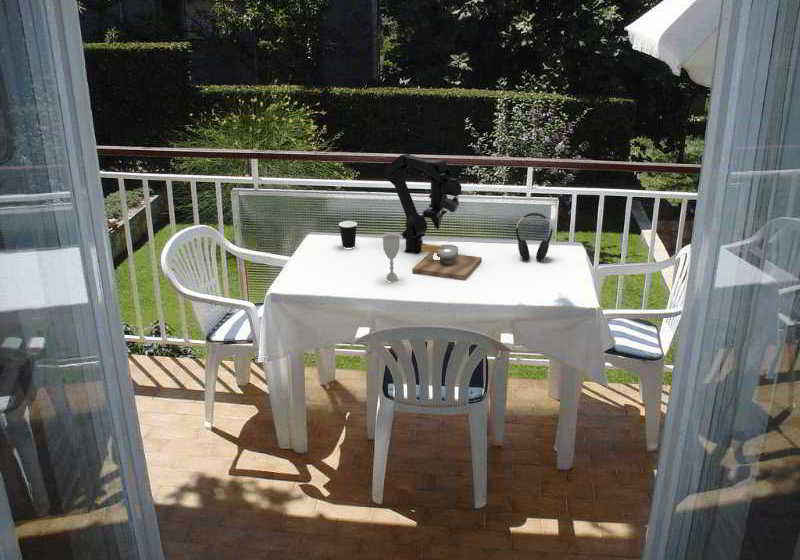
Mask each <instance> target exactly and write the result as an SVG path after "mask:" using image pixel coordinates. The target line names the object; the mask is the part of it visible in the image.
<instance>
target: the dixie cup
mask: <svg viewBox="0 0 800 560" xmlns="http://www.w3.org/2000/svg"><path fill="white" fill-rule="evenodd" d="M357 225H358V223H357V222H356V221H353V220H352V221H351V220H347V221H341V222H339V223H338V226H339V231H340V236H341V237H340V238H341V244H342V247H345V248H353V247H354V248H355V247H356V237H357Z"/></svg>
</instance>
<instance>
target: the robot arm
mask: <svg viewBox="0 0 800 560" xmlns="http://www.w3.org/2000/svg"><path fill="white" fill-rule="evenodd" d="M409 167H411V168H415V169H418V170H422V171H424V172H425V174H427V175H429V176H428V177H426V180H427V181H430V194H428V198H429V199H430V204H428V207H427V208H426V209H424V210H423V212H422V215H420V213H418V211H417V209H416V206H415V203H414V200H413V198H412V196H411V192H410V190H409V188H408V185H407V183H406V180H407V171H406V170H407V169H408V168H409ZM384 174H385V177H386V178H387V180H388V181H389V182H390V183H391V184H392V185H393V186H394V188H395V190H396V194H397V196H398V200H399V202H400V204H401V206H402V210H403V212H404V214H405V217H406V219H405V228H406V229H405V230H403V232H402V233H401V234H402V238H403V239H404V240H405V250H404V253H409V254H420V253H421V252H422V251H421V245H422V244H424V240H423V237H425V235H426V233H427V230H428V226H427V225H428V223H427V221H426V219H431V221H432V224H433V226H434V227H435V229H436V230H439V229H440V227H441V224H442V220H443V218H444V217H443V216H444V215H446V213H447V212H448V211H449V212H450V213H455V211H457V209H458V208H459V206H460V202H459V198H458V196H459V195H460V194H461V193H462V188H463V187H462V185H461V183H460V182H459V178H453V174H452V172H451V170H450V168H449V166H448V164H447V162H446V161H445V160H444V159H432V160H431V159H426V158H424V157H420V156H416V155H412V154H410V153H404V154H400V155H399V156H398V157H397V158H396V159H394V160H393V161H392V162H391V163H388V164H386V166H385V169H384ZM448 196H451V197H453V198H449V197H448Z"/></svg>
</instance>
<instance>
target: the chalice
mask: <svg viewBox="0 0 800 560" xmlns="http://www.w3.org/2000/svg"><path fill="white" fill-rule="evenodd" d="M381 237H382V240H383V241H382V244H383V247H382V248H383V251H384V254H385V255H386V257H387V259H389V260H390V261H389V265H390V266H389V269H390V271H389V273H387V275H386V278H385V279H387V280H388V281H396V280H398V281H399V278H398V275H397V273H395V272H394V269H395V267H394V264H395V263H394V259H396V257H397V255H398V252H399V250H400V238H401V234H400V233H397V232H386V233H383V234H381ZM388 281H387V282H388ZM396 282H397V281H396Z"/></svg>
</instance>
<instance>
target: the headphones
mask: <svg viewBox="0 0 800 560" xmlns="http://www.w3.org/2000/svg"><path fill="white" fill-rule="evenodd" d="M531 216H533V217H534V216H535V217H537V216H538V217H541V218H543V219H545V220H546V221H548V222H549V224H550V233H549V236H548V238H547V240H544V239H543V240H542V241H541V242H540V244H539V246H538V248H537V252H536V255H535V259H536V260H537V261H542V260H544V259H545V258H546V256H547V255H548V252H549V246H550V245H549V244H550V242H551V239H552V236H553V232H554V230H553V224H552V222H551V221H550V220H549V219H548V217H546V216H545V215H544V214H542V213H539V212H532V213H531V212H530V213H528V214H527V213H526V214H525V215H524V216H523V217H521V218H520V220H519V221H517V224H516V228H515V234H516V238H517V241H518V243H517V247H518V253H519V256H520V258H522V259H523V260H525V261H528V260H529V259H530V258H531V257H530V255H531V254H530V251H529V247H528V243H527V241H526V239H521V236H520V234H519V233H520V232H519V224H520V222H521V221H522V220H523V219H525V218H527V217H531Z"/></svg>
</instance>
